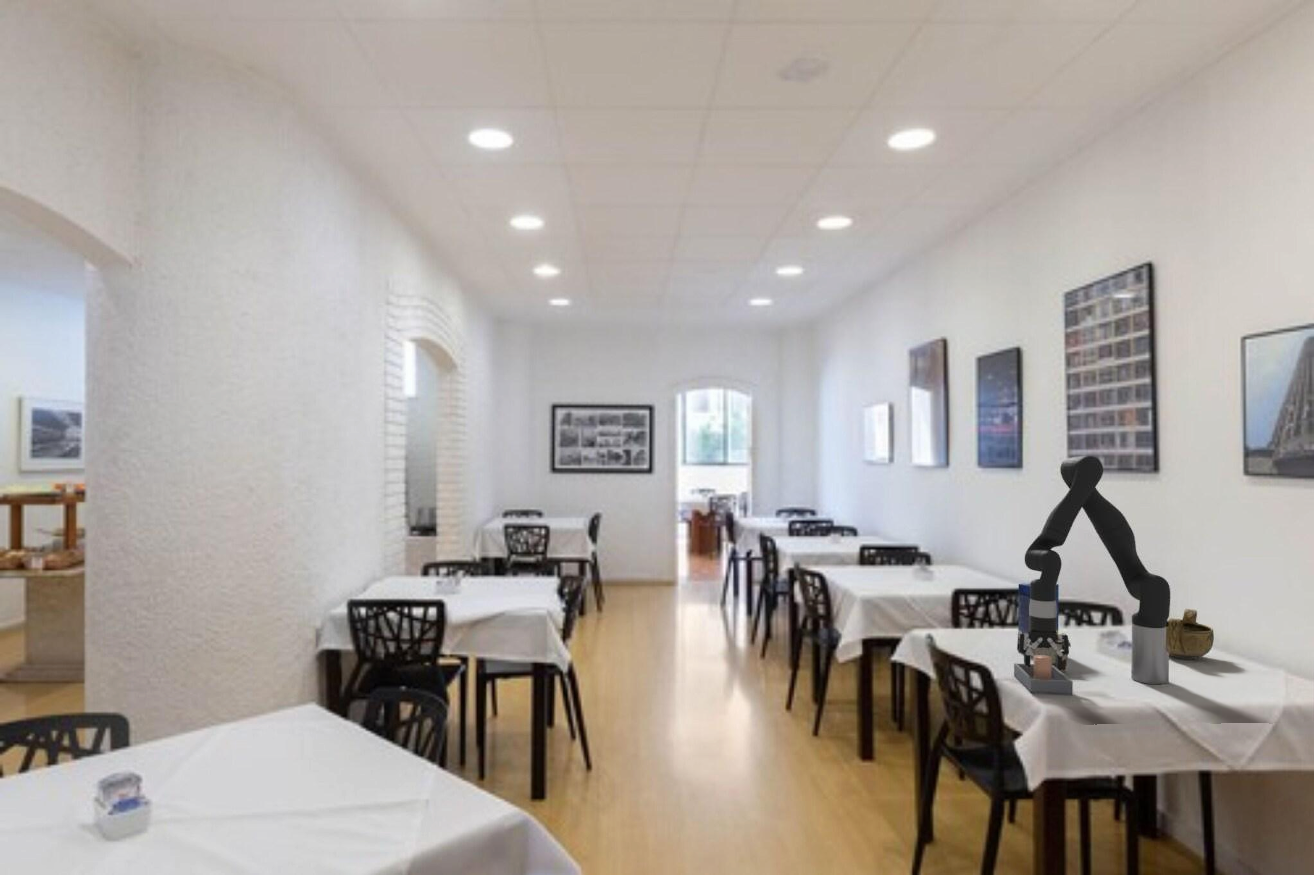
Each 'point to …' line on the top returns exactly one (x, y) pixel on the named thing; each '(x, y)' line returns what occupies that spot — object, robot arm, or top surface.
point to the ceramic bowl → (1188, 637)
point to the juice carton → (1024, 610)
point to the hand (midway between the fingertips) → (1042, 667)
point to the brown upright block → (1042, 667)
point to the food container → (1053, 654)
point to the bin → (1043, 681)
